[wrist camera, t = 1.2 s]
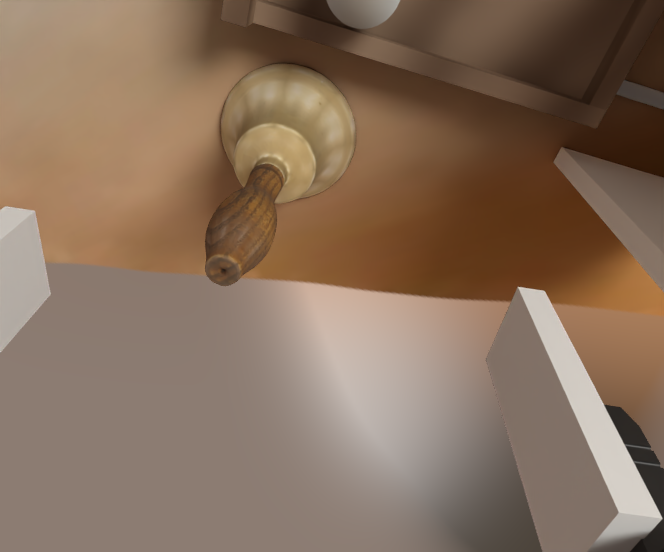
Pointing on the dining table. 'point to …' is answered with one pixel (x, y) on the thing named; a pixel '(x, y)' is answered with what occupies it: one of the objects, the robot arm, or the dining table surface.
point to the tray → (482, 43)
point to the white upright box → (624, 194)
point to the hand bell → (275, 159)
